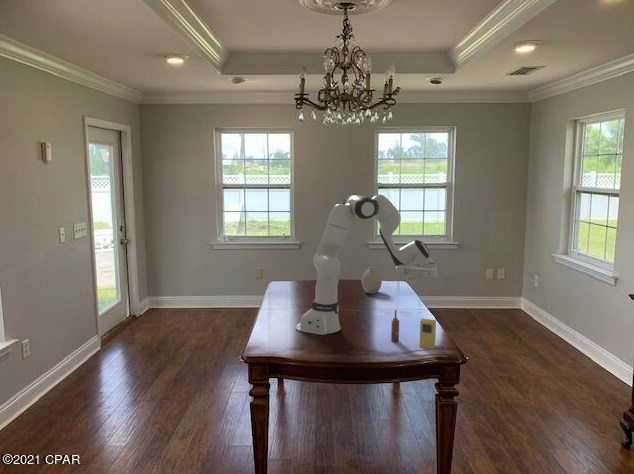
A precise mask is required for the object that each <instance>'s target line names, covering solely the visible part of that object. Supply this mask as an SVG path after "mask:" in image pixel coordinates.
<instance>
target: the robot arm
mask: <svg viewBox="0 0 634 474" xmlns="http://www.w3.org/2000/svg"><path fill="white" fill-rule="evenodd" d="M373 217H374V218H375V219H376V220H377V222H378V223H379V225H380V226H379V229H378V231H379V235H380V238H381V240H382V241H383V243H384V245H385V247H386V249H387V251H388V253H389V255H390V257H391V260H392V262H393V263H394V265H395V274H397V275H403V276H406V275H407V276H414V277H415V278H437V277H438V264H437V263H434V260H433V258H432V257H431V256H430V251H429V249H428V247H427V245H426V243H424V242H423V241H421V240H418V239H415V240H413V241H411V242H409V243H407V244H406V245H404V246H402V247H399V248H397V246H396V244H395V242H394V241H393V238H392V235H393V234H394V233H395V231H396V230H397V229H398V227H399V226H400V223H401V221H402V220H401V219H402V217H401V213H400V211H399V210H398V208H397V207H396V206H395V205H394V204H393V203H392V201H390V200H389V199H388V198H387V197H386V196H385V195H384V194H377V195H374V196H372V198H370V197H368V196H365V195H362V194H351V195H349V196H348V197H347V198H346V199H345V200H344V201H343V202H342V203H337V204H335V205H334V206H333V208H332V210H331V211H330V214H329V217H328V219H327V222H326V225H325V229H324V231H323V235H322V238H321V241H320V243H319V245H318V247H317V250H315V251H316V252H315V254H314V255H313V258H312V259H313V260H312V263H313V266H314V268H315V269H316V272H317V273H316V282H315V283H316V284H315V288H314V289H315V295H314V296H315V298H314V299H313V300H312V302H311V304H310V306H311V308H310V309H308V310H307V311H306V312H304V313H303V314H302V316H301V317H300V322H299V323H297V324H296V326H295V330H296V331H297V332H302V333H303V332H304V333H310V334H314V335H321V336H325V335H328V334H333V333H334V334H335V333H337V332H339V331H340V330H341V329H342V328H341V325H340V324H341V323H340V320H339V308H340V307H339V300H338V295H339V294H338V286H339V279H340V273H341V269H342V267H341V266H342V265H341V262H340V260H339V258H338V256H339V254H340V251H341V250H342V248H343V246H344V245H345V242H346V239H347V236H348V233H349V229H350V227H351V223H352V221H353V219H355V218H357V219H362V220H368V219H371V218H373Z"/></svg>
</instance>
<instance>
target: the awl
mask: <svg viewBox="0 0 634 474" xmlns="http://www.w3.org/2000/svg"><path fill="white" fill-rule="evenodd" d="M390 335H391V337H390V338H391V339H390V340H391V343H399V341H400V320H399V319H398V317H397V309H394V317H393V318H392V319H391V334H390Z"/></svg>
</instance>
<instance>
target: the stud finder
mask: <svg viewBox="0 0 634 474" xmlns="http://www.w3.org/2000/svg"><path fill="white" fill-rule="evenodd" d="M419 324H420V325H419V348H424V349H429V350H434V348H435V347H436V333H437V332H436V330H437V329H436V328H437V319H430V318H421V319H420V323H419Z"/></svg>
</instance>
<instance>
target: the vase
mask: <svg viewBox="0 0 634 474" xmlns="http://www.w3.org/2000/svg"><path fill="white" fill-rule="evenodd" d="M382 283H383V282H382V275H381V273H380V272H379V271H378V270H377V268H376V267H375V266H368V269H366V270H365V271H364V273H363V275H362V277H361V286H362V288H363V289H364V291H365V292H366V294H370V295H373V294H375V295H376V294H377V293H378V292H379V291H380V289H381V287H382Z"/></svg>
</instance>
